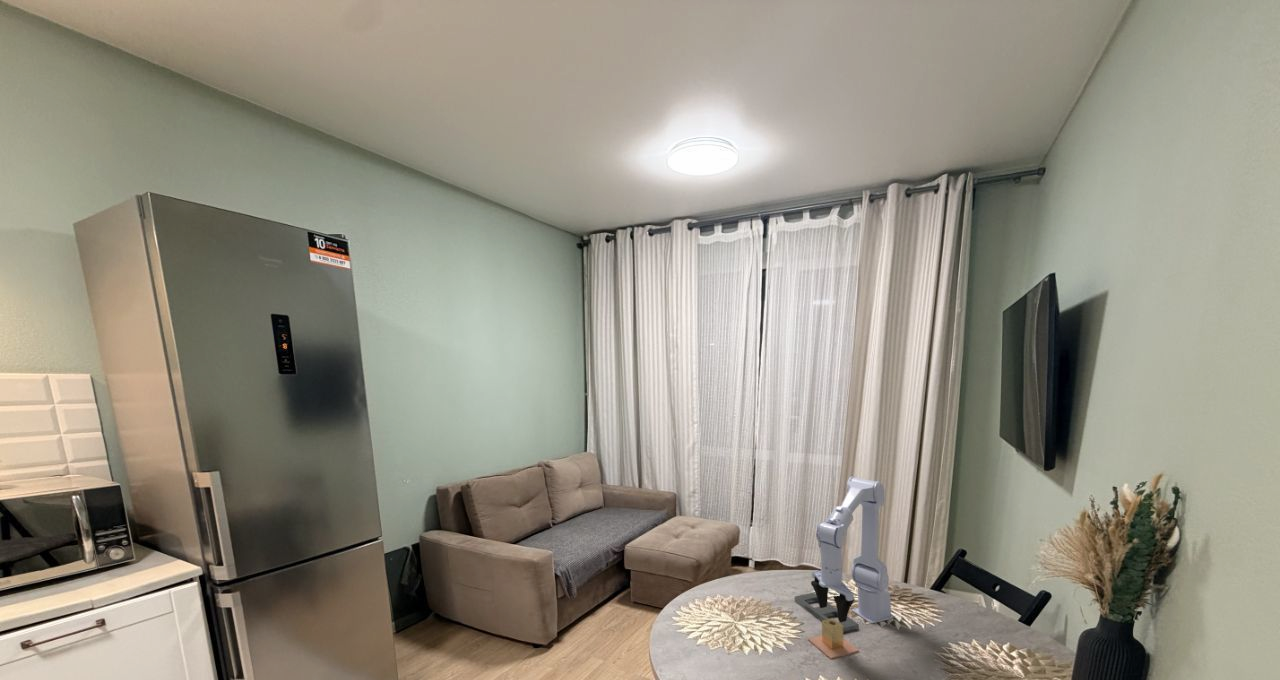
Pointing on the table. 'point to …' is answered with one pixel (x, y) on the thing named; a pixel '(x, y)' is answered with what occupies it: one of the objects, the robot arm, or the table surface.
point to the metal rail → (824, 611)
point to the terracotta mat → (836, 652)
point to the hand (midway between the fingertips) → (832, 613)
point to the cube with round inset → (832, 633)
